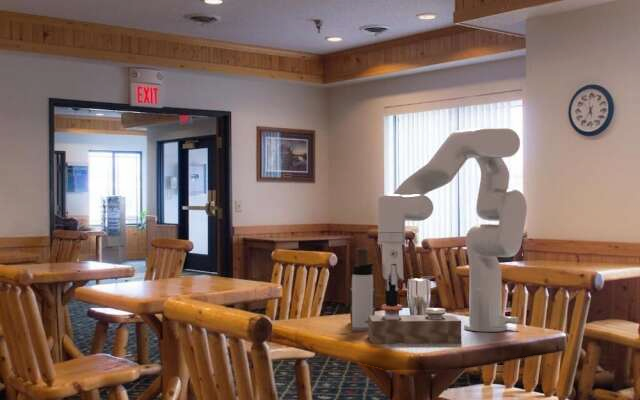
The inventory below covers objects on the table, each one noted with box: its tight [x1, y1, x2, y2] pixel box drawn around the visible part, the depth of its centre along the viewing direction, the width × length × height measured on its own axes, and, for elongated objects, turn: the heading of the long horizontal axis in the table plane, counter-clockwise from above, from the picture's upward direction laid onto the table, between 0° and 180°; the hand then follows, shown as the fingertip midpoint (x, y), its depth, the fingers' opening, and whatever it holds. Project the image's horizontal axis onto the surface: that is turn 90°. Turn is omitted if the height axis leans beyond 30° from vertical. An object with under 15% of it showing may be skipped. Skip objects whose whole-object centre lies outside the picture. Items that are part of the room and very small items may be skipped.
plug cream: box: [425, 307, 446, 319], centre depth 210 cm, size 6×6×8 cm
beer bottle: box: [349, 247, 376, 324], centre depth 243 cm, size 8×8×24 cm
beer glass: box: [406, 278, 431, 315], centre depth 229 cm, size 7×7×15 cm
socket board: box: [367, 314, 462, 345], centre depth 210 cm, size 24×12×6 cm, turn 91°
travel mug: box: [351, 262, 375, 332], centre depth 228 cm, size 6×7×20 cm
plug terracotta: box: [381, 303, 403, 319], centre depth 210 cm, size 6×6×8 cm
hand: (391, 305), depth 210 cm, fingers closed
